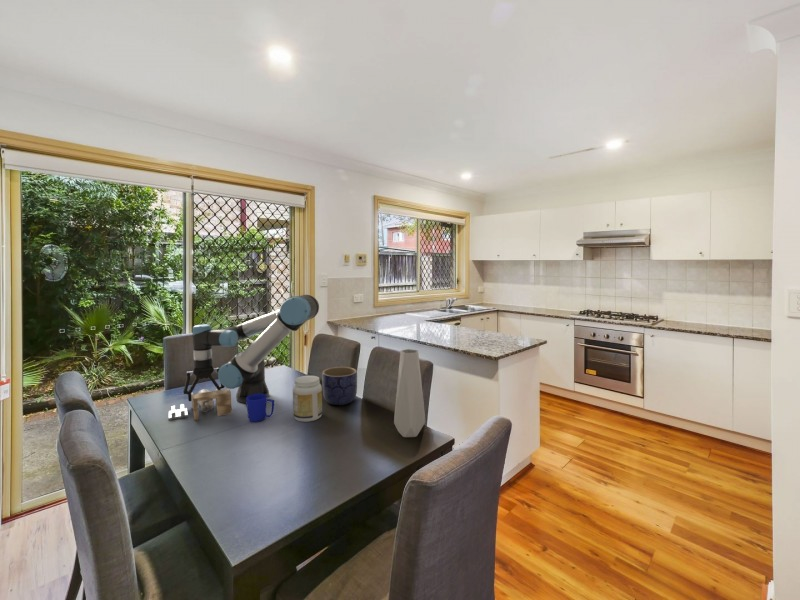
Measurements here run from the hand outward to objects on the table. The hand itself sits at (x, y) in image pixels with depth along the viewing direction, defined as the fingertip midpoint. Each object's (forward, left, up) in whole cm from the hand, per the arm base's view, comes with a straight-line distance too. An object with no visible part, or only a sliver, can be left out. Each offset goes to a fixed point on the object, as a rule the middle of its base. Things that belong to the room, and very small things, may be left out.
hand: (205, 405), depth 174 cm
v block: (+11, +6, 0) cm, 12 cm away
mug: (-19, +30, 0) cm, 35 cm away
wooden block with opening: (-2, +13, 0) cm, 13 cm away
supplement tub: (-37, +37, 0) cm, 52 cm away
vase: (-65, +73, 0) cm, 98 cm away
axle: (0, 0, +3) cm, 3 cm away
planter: (-56, +27, 0) cm, 62 cm away
